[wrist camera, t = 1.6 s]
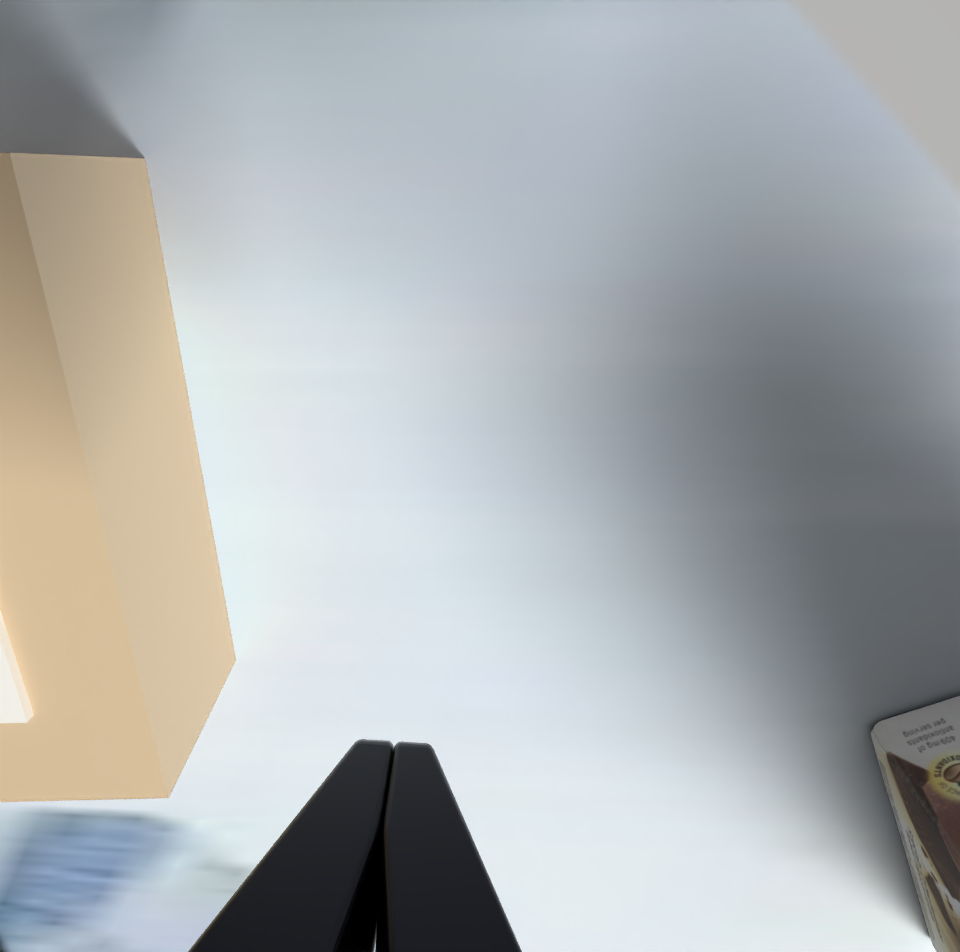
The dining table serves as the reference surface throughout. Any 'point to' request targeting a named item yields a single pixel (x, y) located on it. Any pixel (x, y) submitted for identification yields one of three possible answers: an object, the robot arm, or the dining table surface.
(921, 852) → the coffee box
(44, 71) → the dining table surface
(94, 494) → the carton
